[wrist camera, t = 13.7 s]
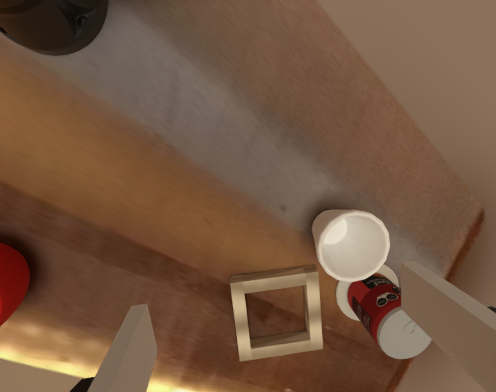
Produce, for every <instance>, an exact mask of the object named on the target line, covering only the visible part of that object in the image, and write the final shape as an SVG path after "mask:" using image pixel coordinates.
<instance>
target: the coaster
mask: <svg viewBox="0 0 496 392" xmlns="http://www.w3.org/2000/svg"><path fill="white" fill-rule="evenodd" d="M376 273H378V274H381V275H384V276H385V277H387V278H388V279H389V280H390V281H392V282H393V283H394V284H395V285H396V286H398V287H399V283H398V279H397V277H396V275H395V273H394V272H393V271H392V270H391V269H390V268H389V267H388V266H386V265H385V264H383V265H382V266H381V267H380V268H379V270H378V271H377V272H376ZM351 283H352V282H346V281H340V280H338V283H337V286H336V291H335V296H336V301H337V304H338V306H339V307H340V309H341V310H342V312H343V313H344V314H345V315H346V316H348V317H349V318H351V319H354V320H357V321H360V320H359V319H358V317H357V316H356V315H355V313H354V312H353V311H352V309H351V308H350V306H349V303H348V297H347V294H348V289H349V287H350V285H351Z"/></svg>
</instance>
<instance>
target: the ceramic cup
mask: <svg viewBox="0 0 496 392" xmlns="http://www.w3.org/2000/svg"><path fill="white" fill-rule="evenodd" d="M29 281H30V272H29V268H28V264H27V262H26V260H25V258H24V257H23V255H22V254H20V253H19V252H18V251H17V250H15V249H14V248H12V247H10V246H8V245H6V244H3V243H0V326H1V325H2V324H3V323H4V322H5V321H6V320H7V319H8V318H9V317H10V316H11V315H12V314H13V313H14V311H15V310H16V309H17V308H18V306H19V305H20V304H21V302H22V300H23V299H24V297H25V294H26V292H27V290H28V286H29Z"/></svg>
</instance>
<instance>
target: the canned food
mask: <svg viewBox="0 0 496 392" xmlns="http://www.w3.org/2000/svg"><path fill="white" fill-rule="evenodd" d="M347 297H348V303H349V306H350V308H351V309H352V311H353V312H354V313H355V315H356V316H357V317H358V319H359V320H360V321H361V323H362V324H363V325H364V327H365V328H366V329H367V331H368V332H369V333H370V335H371V336H372V337H373V339H374V340H375V341H376V343H377V344H378V345H379V347H380V348H381V349H382V350H383V351H384V352H385V353H386V354H387V355H389V356H390V357H393V358H396V359H407V358H411V357H413V356H416V355H418V354H419V353H421V352H422V351H423V350H424V349H425V348H426V347H427V346H428V345H429V343H430V342H431V340H432V339H431V338H430V337H429V336H428V335H427V334H426V333H425V332H424V331H423V330H422V329H421V328H420V327H419V326H418V325H417V324H416V323H415V322H414V321H413V320H412V319H411V318H410V317H409V316H408V315H407V314H406V313H405V312H404V311H403V310H402V309H401V289H400V288H399V287H398V286H396V285H395V284H394V283H393V282H392V281H390V280H389V279H388V278H387V277H385V276H384V275H381V274H378V273H374V274H372V275H371V276H369V277H368V278H366V279H364V280H359V281H355V282H352V283H351V285H350V287H349V289H348V294H347Z"/></svg>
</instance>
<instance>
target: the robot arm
mask: <svg viewBox="0 0 496 392" xmlns="http://www.w3.org/2000/svg"><path fill="white" fill-rule="evenodd" d="M106 12H107V0H0V32H1V33H3V34H4V35H5V36H6V37H8V38H9V39H11V40H12V41H14V42H16V43H18V44H20V45H22V46H24V47H26V48H28V49H30V50H33V51H35V52H38V53H42V54H47V55H65V54H69V53H73V52H76V51H78V50H80V49H82V48H83V47H85V46H86V45H88V44H89V43H90V42H91V41H92V40H93V39H94V38H95V37H96V36H97V34H98V33H99V31H100V29H101V27H102V25H103V23H104V20H105V17H106ZM401 309H402V310H403V311H404V312H405V313H406V314H407V315H408V316H409V317H410V318H411V319H412V320H413V321H414V322H415V323H416V324H417V325H418V326H419V327H420V328H421V329H422V330H423V331H424V332H425V333H426V334H427V335H428V336H429V337H430V338H431V339H432V340H434V342H435V343H437V344H438V345H439V346H440V347H441V348H442V349H443V350H444V351H445V352H446V353H447V354H448V355H449V356H450V357H451V358H452V359H453V360H454V361H455V362H456V363H457V364H458V365H459V366H460V367H461V368H462V369H463V370H464V371H465V372H467V374H468V375H469V376H470V377H471V378H473V379H474V380H475V381H476V382H477V383H478V384H479V385H480V386H481V387H482V388H483V389H484V390H485V391H486V392H496V308H494V307H485V306H484V305H482V304H481V303H479V302H478V301H476V300H475V299H473V298H472V297H470V296H468V295H467V294H465V293H464V292H462V291H461V290H459V289H458V288H456V287H454V286H453V285H452V284H450V283H449V282H447V281H446V280H444V279H443V278H441V277H439V276H438V275H436V274H435V273H433V272H432V271H430V270H429V269H427V268H426V267H424V266H423V265H421V264H420V263H418V262H417V261H409V262H402V263H401ZM157 352H158V350H157V346H156V341H155V337H154V332H153V328H152V324H151V319H150V315H149V310H148V306H147V304H142V305H136V306H131V308H130V310H129V312H128V314H127V316H126V318H125V320H124V321H123V323H122V325H121V327H120V329H119V331H118V333H117V335H116V337H115V339H114V341H113V343H112V345H111V347H110V349H109V351H108V353H107V354H106V356H105V358H104V360H103V362H102V364H101V366H100V368H99V370H98V372H97V374H96V376H95V377H91V378H85V379H81V381H80V382H79V383H78V384H77V385H76V386H75V387H74V388H73V389H72V390H71V391H70V392H146V390H147V387H148V383H149V380H150V376H151V373H152V369H153V366H154V362H155V359H156V355H157Z"/></svg>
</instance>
